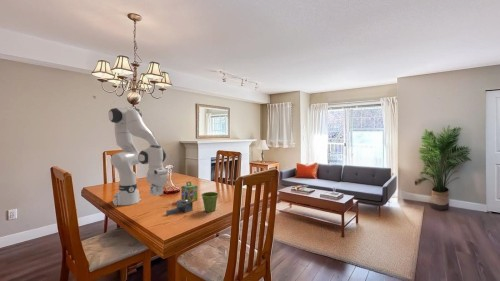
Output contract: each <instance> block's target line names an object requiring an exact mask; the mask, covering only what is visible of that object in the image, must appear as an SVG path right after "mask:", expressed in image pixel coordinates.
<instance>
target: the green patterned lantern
mask: <svg viewBox="0 0 500 281" xmlns="http://www.w3.org/2000/svg"><path fill="white" fill-rule="evenodd" d="M180 189H181V190H180V191H181V192H180V193H181V194H180V195H181V199H180V200H182V199H187V200H189V201H192V202H195V201H198V186H197V185H194V184H192V181H191V180H190V181H187V182H186V185H183V186H181V187H180Z"/></svg>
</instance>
